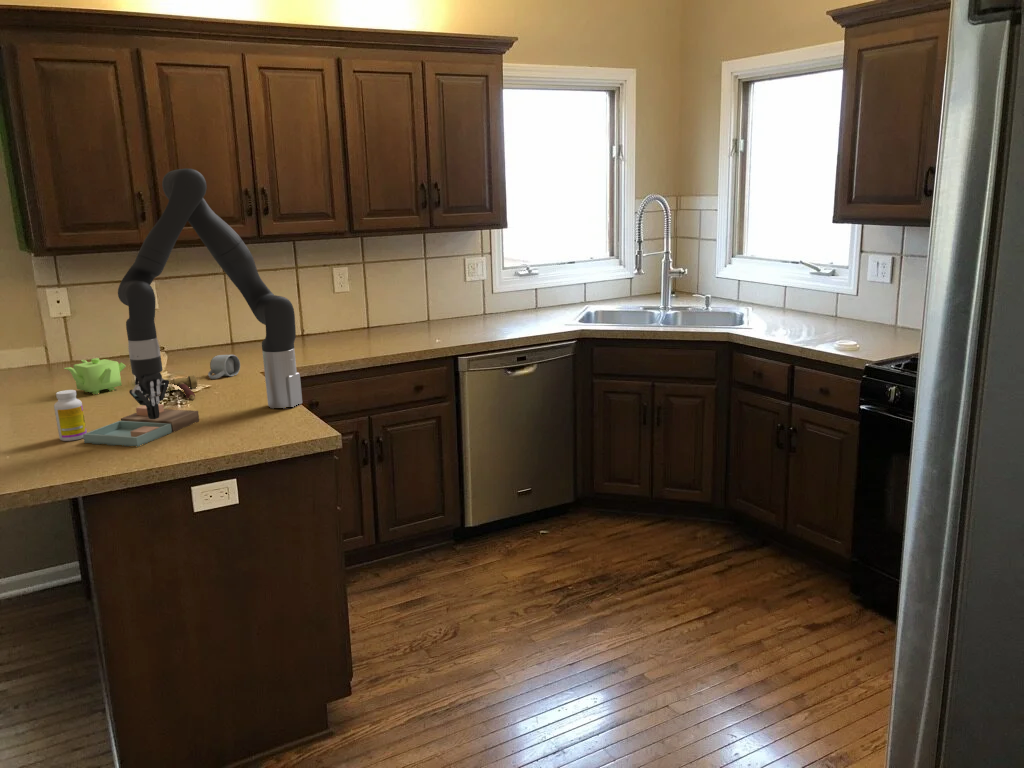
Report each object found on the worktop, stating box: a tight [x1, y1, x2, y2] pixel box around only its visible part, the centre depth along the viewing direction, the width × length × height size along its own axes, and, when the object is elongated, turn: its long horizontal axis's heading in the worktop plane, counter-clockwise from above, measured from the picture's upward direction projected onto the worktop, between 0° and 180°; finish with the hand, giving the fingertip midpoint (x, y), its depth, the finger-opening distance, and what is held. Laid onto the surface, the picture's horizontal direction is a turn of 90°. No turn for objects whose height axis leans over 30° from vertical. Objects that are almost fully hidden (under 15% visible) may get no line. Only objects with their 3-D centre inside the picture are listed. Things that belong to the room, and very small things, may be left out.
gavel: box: [163, 374, 198, 401], centre depth 264 cm, size 21×5×10 cm
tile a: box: [130, 426, 159, 437], centre depth 216 cm, size 5×5×2 cm
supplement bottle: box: [53, 389, 88, 442], centre depth 218 cm, size 7×7×13 cm
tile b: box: [135, 403, 165, 416], centre depth 230 cm, size 5×5×2 cm
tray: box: [82, 420, 173, 448], centre depth 217 cm, size 17×13×2 cm
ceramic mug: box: [207, 354, 241, 380], centre depth 289 cm, size 11×8×8 cm
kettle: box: [63, 357, 127, 395], centre depth 272 cm, size 15×14×11 cm
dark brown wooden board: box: [120, 408, 200, 433], centre depth 229 cm, size 17×11×3 cm, turn 73°
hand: (154, 418), depth 220 cm, fingers closed
